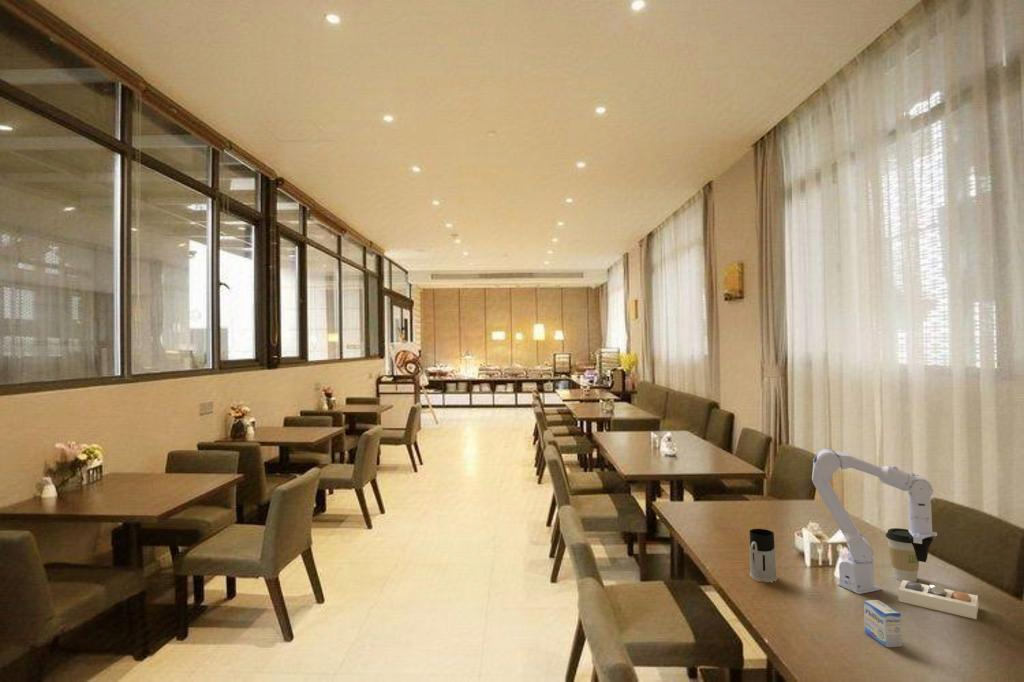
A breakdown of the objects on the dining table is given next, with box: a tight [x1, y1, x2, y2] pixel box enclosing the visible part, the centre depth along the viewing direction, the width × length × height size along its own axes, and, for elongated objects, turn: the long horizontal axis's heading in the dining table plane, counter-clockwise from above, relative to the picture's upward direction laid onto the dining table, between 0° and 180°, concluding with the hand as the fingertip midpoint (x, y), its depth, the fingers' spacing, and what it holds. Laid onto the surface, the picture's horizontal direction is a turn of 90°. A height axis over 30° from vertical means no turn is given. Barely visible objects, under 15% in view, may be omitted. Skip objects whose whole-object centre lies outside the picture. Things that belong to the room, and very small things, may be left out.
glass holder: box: [749, 528, 778, 583], centre depth 186 cm, size 9×14×15 cm, turn 137°
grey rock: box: [929, 582, 946, 597], centre depth 165 cm, size 4×4×3 cm
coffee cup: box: [885, 527, 920, 582], centre depth 184 cm, size 10×10×15 cm
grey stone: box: [907, 581, 922, 592], centre depth 169 cm, size 4×4×3 cm
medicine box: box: [863, 599, 903, 649], centre depth 147 cm, size 8×4×9 cm, turn 5°
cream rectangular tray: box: [897, 580, 979, 620], centre depth 165 cm, size 18×9×4 cm, turn 48°
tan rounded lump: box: [953, 590, 969, 602], centre depth 161 cm, size 4×4×3 cm
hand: (921, 560), depth 172 cm, fingers closed
